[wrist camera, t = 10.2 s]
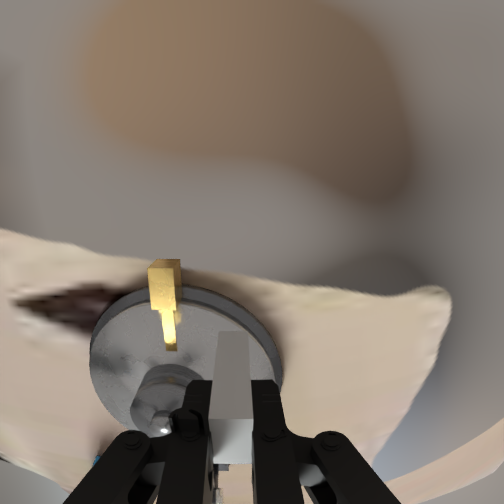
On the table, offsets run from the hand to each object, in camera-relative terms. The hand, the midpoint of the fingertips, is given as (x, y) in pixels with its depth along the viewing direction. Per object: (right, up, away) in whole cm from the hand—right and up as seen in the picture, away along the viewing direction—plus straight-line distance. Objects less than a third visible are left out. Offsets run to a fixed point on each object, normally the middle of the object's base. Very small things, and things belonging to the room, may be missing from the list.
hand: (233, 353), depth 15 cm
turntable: (-7, -8, +17) cm, 20 cm away
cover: (-8, -10, +15) cm, 20 cm away
